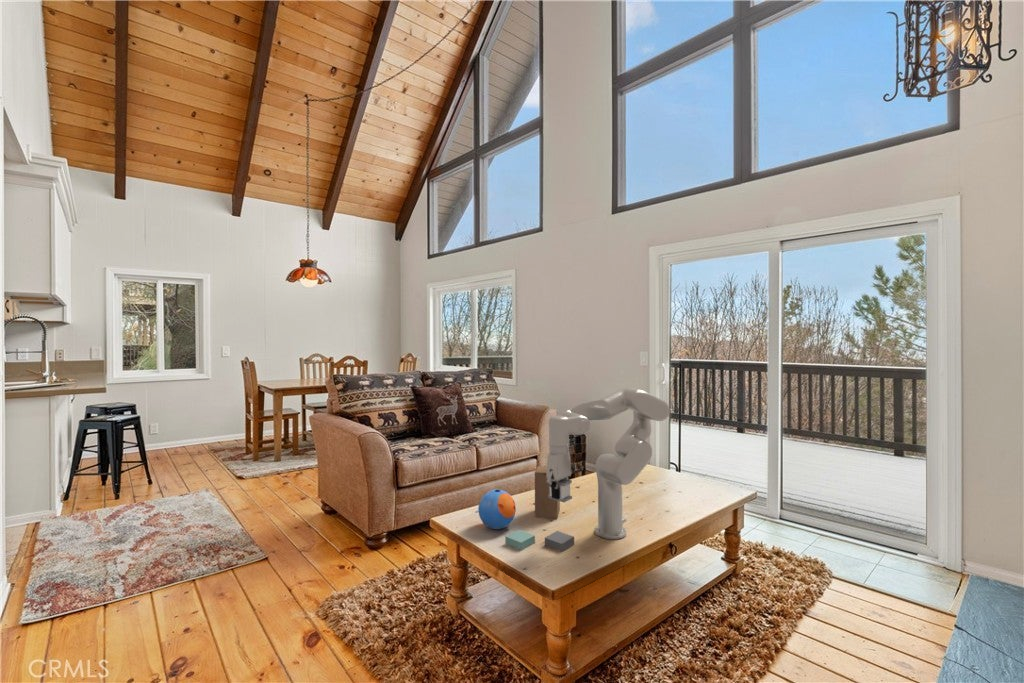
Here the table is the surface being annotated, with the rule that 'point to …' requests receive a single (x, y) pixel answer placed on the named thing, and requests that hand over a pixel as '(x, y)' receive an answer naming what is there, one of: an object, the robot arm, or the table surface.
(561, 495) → the housing
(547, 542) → the stand
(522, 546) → the stand
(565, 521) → the table surface
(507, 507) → the treat dispenser ball
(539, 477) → the wooden block
